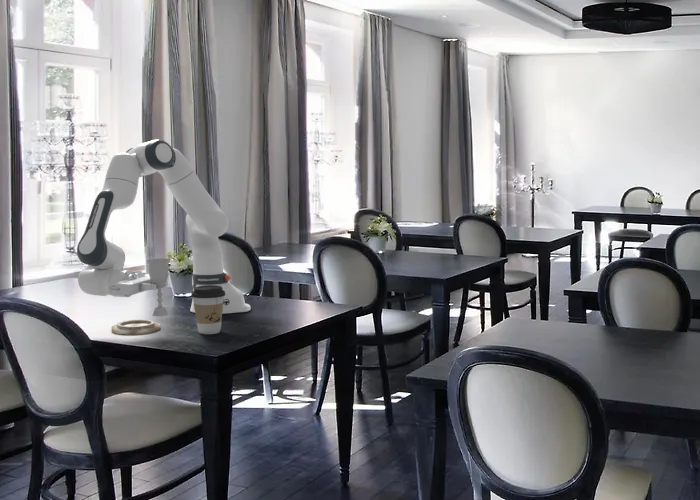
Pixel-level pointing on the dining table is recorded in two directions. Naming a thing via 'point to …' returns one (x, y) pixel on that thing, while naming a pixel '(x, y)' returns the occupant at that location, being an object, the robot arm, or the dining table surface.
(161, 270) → the chalice
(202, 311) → the coffee cup
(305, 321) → the dining table surface
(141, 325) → the beige ring base
